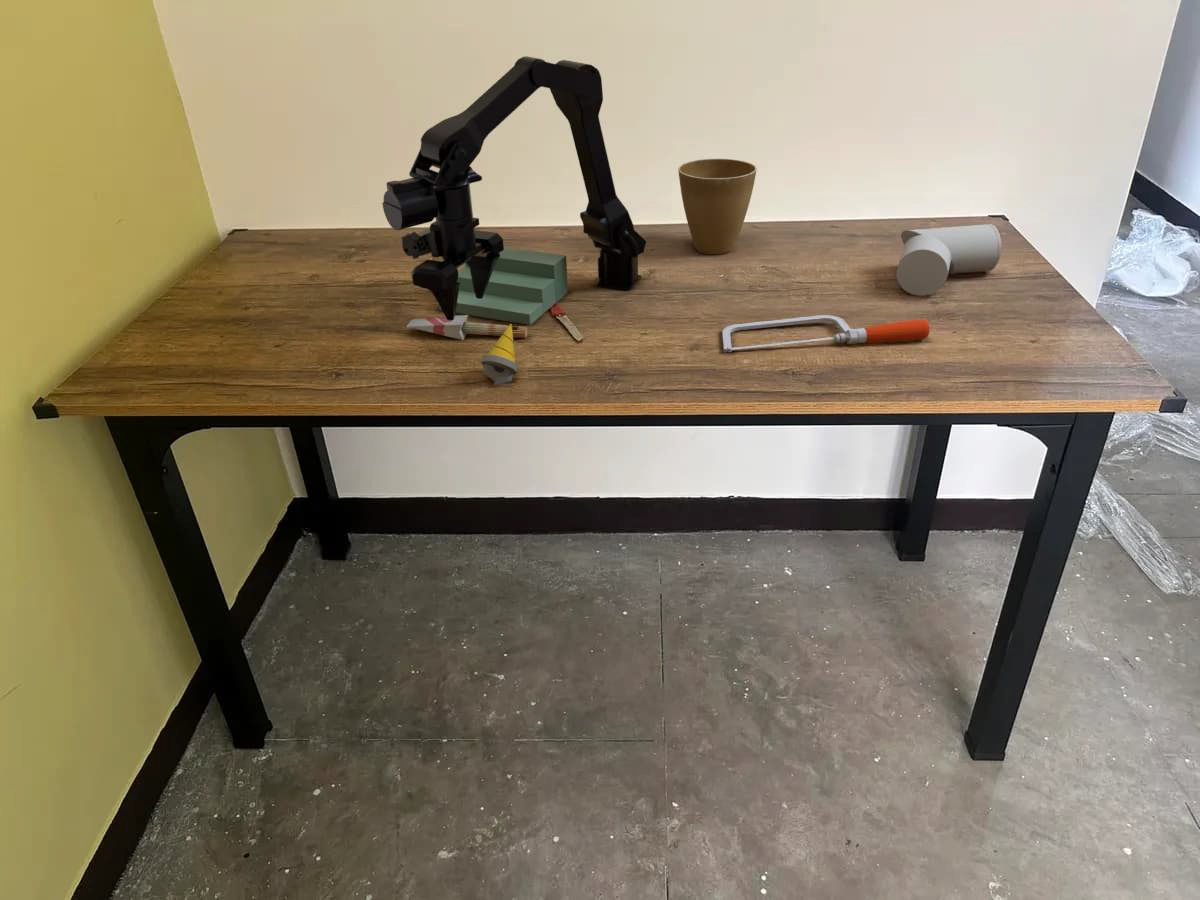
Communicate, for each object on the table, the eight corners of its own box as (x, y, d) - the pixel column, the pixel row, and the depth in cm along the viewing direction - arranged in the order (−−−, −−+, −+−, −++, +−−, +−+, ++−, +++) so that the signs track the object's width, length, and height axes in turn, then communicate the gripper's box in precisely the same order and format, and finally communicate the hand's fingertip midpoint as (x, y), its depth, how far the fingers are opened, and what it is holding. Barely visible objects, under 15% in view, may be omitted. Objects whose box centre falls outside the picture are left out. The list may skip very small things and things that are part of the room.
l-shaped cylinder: (895, 246, 172) (881, 284, 157) (916, 194, 166) (904, 228, 151) (986, 276, 169) (981, 317, 153) (1011, 224, 162) (1009, 262, 147)
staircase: (568, 292, 161) (566, 255, 157) (530, 325, 150) (527, 286, 146) (481, 279, 167) (478, 243, 164) (439, 310, 156) (434, 272, 152)
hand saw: (725, 345, 137) (712, 319, 145) (725, 363, 138) (712, 337, 147) (932, 323, 138) (907, 299, 147) (929, 341, 140) (905, 316, 148)
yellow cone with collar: (473, 383, 134) (490, 322, 136) (506, 394, 135) (523, 333, 137) (480, 376, 129) (498, 313, 131) (514, 387, 130) (532, 324, 132)
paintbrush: (412, 310, 148) (528, 320, 146) (413, 325, 150) (529, 335, 147) (404, 319, 145) (523, 330, 143) (405, 334, 147) (523, 345, 144)
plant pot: (765, 245, 179) (771, 164, 170) (723, 267, 169) (728, 183, 161) (704, 230, 187) (707, 153, 178) (661, 250, 178) (662, 170, 169)
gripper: (441, 192, 146) (452, 281, 155) (374, 228, 132) (390, 324, 140) (501, 198, 142) (509, 290, 151) (438, 236, 128) (451, 335, 136)
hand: (465, 308), depth 145 cm, fingers open, 9 cm apart
